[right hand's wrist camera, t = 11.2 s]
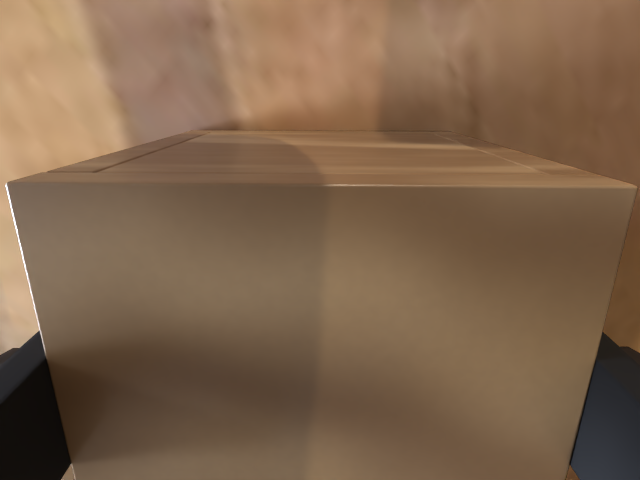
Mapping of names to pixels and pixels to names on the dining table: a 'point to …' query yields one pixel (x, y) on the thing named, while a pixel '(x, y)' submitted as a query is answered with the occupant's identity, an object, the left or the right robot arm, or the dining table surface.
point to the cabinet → (320, 305)
